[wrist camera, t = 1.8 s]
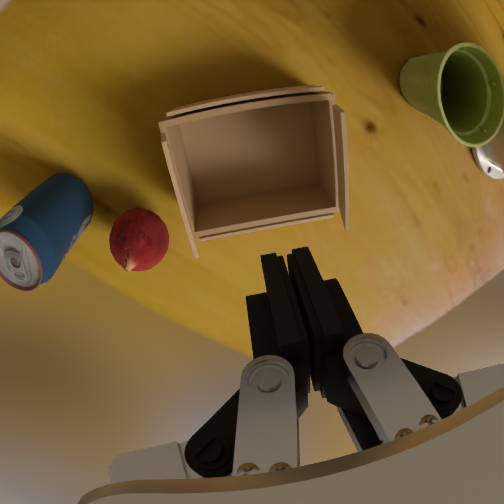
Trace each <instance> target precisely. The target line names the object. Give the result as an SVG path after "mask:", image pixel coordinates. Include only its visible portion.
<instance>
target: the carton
mask: <svg viewBox="0 0 504 504" xmlns="http://www.w3.org/2000/svg"><path fill="white" fill-rule="evenodd" d="M333 104H335V96H334V93H330V92H325V90H324V87H321V86H315V85H305V86H294V87H285V88H277V89H269V90H262V91H255V92H248V93H242V94H236V95H231V96H226V97H220V98H215V99H210V100H206V101H201V102H197V103H192V104H188V105H184V106H180V107H176V108H173V109H172V110H170V111H168V112H167V113H166V116H167V117H165V118H164V119H163V120H161V121H160V122H159V123H158V124H159V128H160V132H161V134H162V133H165V134H166V138H167V142H168V146H169V150H170V154H171V157H172V161H173V165H174V169H175V172H176V176H177V180H178V183H179V187H180V191H181V194H182V198H183V201H184V205H185V208H186V212H187V215H188V219H189V222H190V225H191V229H192V232H193V236H194V238H196V237H200V238H199V239H200V242H202V241H207V240H212V239H218V238H223V237H228V236H234V235H239V234H244V233H250V232H255V231H261V230H266V229H272V228H277V227H283V226H289V225H294V224H300V223H306V222H311V221H317V220H323V219H329V218H334V214H333V213H334V212H340V209H339V203H338V177H337V159H336V144H335V131H334V119H333V109H332V105H333Z"/></svg>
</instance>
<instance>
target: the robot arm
mask: <svg viewBox="0 0 504 504" xmlns="http://www.w3.org/2000/svg"><path fill="white" fill-rule="evenodd" d="M472 152H473V156H474V159H475V161H476V164H477V166H478V167H479V169H480V170H481V171H482V172H483V173H484V174H485V175H487V176H489V177H491V178H493V179H502V178H504V119H503V122H502V125H501V127H500V129H499V131H498V133H497V134H496V136H495V137H494V138H493V139H492V140H491V141H490V142H488V143H487V144H485V145H483V146H480V147H472ZM261 262H262V268H263V274H264V279H265V285H266V291H267V292H266V293H260V294H255V295H250V296H246V303H247V311H248V319H249V327H250V335H251V342H252V350H253V358H254V359H253V360H252V361H251V362H249V363H248V364H247V365H246V367H245V368H244V369H243V372H242V376H241V382H240V389H239V390H238V391H237V392H236V393H235V394H234V395H233V396H232V397H231V398H230V399H229V400H228V401H227V402H226V403H225V404H224V405H223V406H222V407H221V408H220V410H218V411H217V412H216V413H215V414H214V416H212V418H210V419H209V420H208V422H206V423H205V424H204V425H203V426H202V427H201V428H200V429H199V430H198V431H197V432H196V433H195V434H194V435H193V436H192V437H191V439H190V440H189V441H186V442H183V443H178V442H172V443H169V444H164V445H160V446H156V447H151V448H146V449H142V450H137V451H132V452H126V453H122V454H120V455H117V456H116V457H115V458H114V459H113V460H112V462H111V464H110V467H109V475H110V481H111V484H108V485H105V486H102V487H99V488H96V489H94V490H92V491H90V492H88V493H86V494H85V495H84V496H83V497H82V498H81V499H80V500H79V502H78V504H504V364H498V365H495V366H491V367H487V368H483V369H479V370H474V371H469V372H465V373H460V374H458V375H457V377H451V376H448V375H447V374H443V373H441V372H438V371H435V370H432V369H430V368H427V367H424V366H421V365H418V364H416V363H413V362H410V361H408V360H405V359H402V358H399V356H398V354H397V353H396V352H395V350H394V349H393V347H392V346H391V345H390V343H389V342H388V341H387V340H386V339H385V338H383V337H381V336H379V335H377V334H372V333H363V332H362V330H361V327H360V325H359V323H358V321H357V319H356V317H355V315H354V313H353V310H352V308H351V306H350V304H349V302H348V300H347V298H346V296H345V294H344V292H343V290H342V288H341V286H340V284H339V282H338V280H337V279H336V278H334V279H330V280H325V281H323V279H322V277H321V274H320V272H319V270H318V268H317V266H316V263H315V261H314V259H313V257H312V255H311V253H310V250H309V248H308V247H302V248H297V249H292V254H288V255H287V262H288V271H289V274H288V271H287V268H286V265H285V262H284V259H283V256H277V255H276V253H271V254H266V255H261ZM310 377H311V380H312V384H313V388H314V391H319V390H320V391H321V395H322V398H327V402H329V403H331V404H333V405H335V406H336V407H337V410H338V412H339V414H340V416H341V418H342V420H343V423H344V425H345V427H346V429H347V431H348V432H349V435H350V437H351V439H352V441H353V443H354V445H355V447H356V449H357V451H358V452H356V453H353V454H350V455H346V456H342V457H339V458H335V459H331V460H327V461H323V462H319V463H314V464H310V465H305V466H300V444H299V443H300V442H299V417H300V416H301V415H302V414H303V412H304V411H305V409H306V408H307V407H308V393H310Z"/></svg>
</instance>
